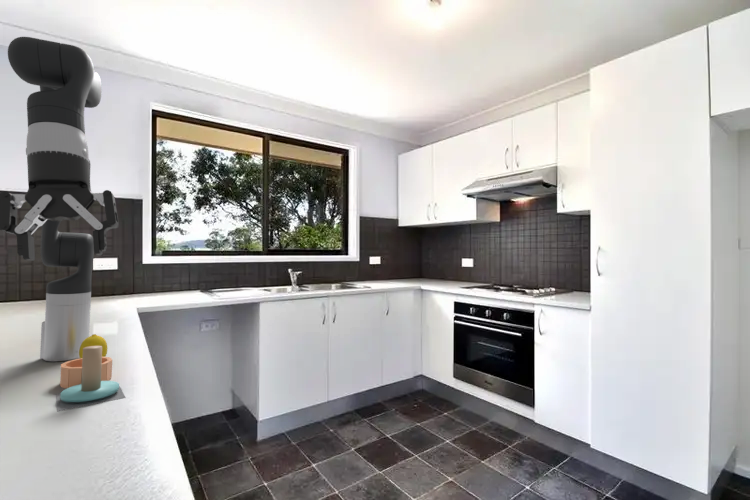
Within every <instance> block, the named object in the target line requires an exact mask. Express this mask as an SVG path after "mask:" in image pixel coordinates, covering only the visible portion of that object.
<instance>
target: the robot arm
mask: <svg viewBox="0 0 750 500" xmlns="http://www.w3.org/2000/svg"><path fill="white" fill-rule="evenodd" d="M7 59H8V62H9V65H10V66H11V68H12V70H13V71H14V73H15V74H16V75H17V76H18V77H19V79H21V80H22V81H24V82H25V83H27V84H30V85H33V86H39V90H38V91H35V92H33V93H30V94H29V95H28V97H27V99H26V113H27V114H26V116H27V135H26V147H25V155H26V158H27V162H26V165H27V183H28V190H27V191H26V192H25V194H23V193H10V192H9V191H2V192H0V231H3V232H5V233H6V234H9V235H15V236H16V247H17V248H16V249H17V254H18V256H19V257H22V259H23V260H24V261H28V262H31V261H35V260H36V256H35V254H36V253H35V237H34V236H33V234H34V233H35V232H36V231H37V230H38V229H39V228H40V227H41V233H40V236H41V237H40V250H39V251H40V259H41V262H42V264H43V265H44V266H46V267H49V268H50V267H51V268H77V270H76V271H75V272H74V273H72V274H70V275H68V276H66V277H62V278H58V279H55V280H52V281H49V282H48V283H47V284H46V289H45V290H46V291H45V292H46V293H45V312H44V313H45V314H44V315H45V318H44V321H43V322H41V327H40V329H41V332H40V348H39V349H40V350H39V351H40V353H39V359H42V360H43V361H44V362H63V361H65V362H67V361H71V360H75V359H79V358H80V357H79V349H80V346H81V344H82V342H83V341H84V340H85V339H86V338H88V337H90V329H91V328H90V327H91V325H90V324H91V308H92V307H91V306H92V305H91V304H92V276H93V275H92V273H93V272H92V271H93V264H94V257H95V256H102V255H103V254H104V253H103V252H106V251H107V249H108V245H107V244H108V243H107V232H108V231H110V230H112V229H118V228H119V226H120V224H119V223H120V222H119V216H118V210H117V203H116V199H115V196H114V194H113V192H112V191H110V189H109V190H108V189H106V190H104V191H103V192H95V193H93V192H92V188H91V187H92V186H91V160H90V157H89V148H88V143H87V142H88V141H87V138H86V131H85V130H86V127H85V108H89V109H90V108H91V109H93V108H96V107H98V105H99V104H100V102H101V99H102V91H103V89H102V85H103V84H102V79H101V77H100V75H99V73H98V72H97V71H95V67H94V66H95V65H94V64H93V60H92V58H91V57H90V56H89V54H88V53H87V52H86V51H85V50H83V49H82V48H81V47H79V46H76V45H73V44H67V43H63V42H61V43H60V42H58V41H57V42H56V41H51V40H47V39H46V40H45V39H42V38H41V39H40V38H36V37H32V36H19V37H16V38H14V39H12V40H11V41H10V43H9V45H8V47H7ZM95 201H97V202H98V203H99V204H100V205H101V206H103V207H104V211H105V216H106V217H105V218H106V220H103V221H99V220H98V219H97V218H96V217H95V216H94V215H93V214H92V213H90V212H89V211H88V210H89V209H90V208H91V207H92V205H94V203H95ZM24 203H27V204H28V205H30V206H31V209H30V210H29V211H28V212H27V213H26V214H25V215H24V217H23V219H22V220H21V222H19V224H18V210H19V209H21V208H22V206H23V205H24ZM81 218H83V219H84V220H85V221H86V223H88V224H89V225H90V226H91V227H92V228H93V229H94V230H92V234H91V233H81V232H67V231H66V232H65V231H64V232H61V231H59V227H60V225H61V222H62V221H64V220H66V221H77V220H79V219H81Z"/></svg>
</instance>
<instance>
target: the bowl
mask: <svg viewBox="0 0 750 500" xmlns="http://www.w3.org/2000/svg"><path fill="white" fill-rule="evenodd" d="M112 371H113V359H112V357H111V356H109V357H108V356H105V357H102V366H101V381H111V379H112V376H113V372H112ZM81 381H82V358H78V359H73V360H66V361H65V362H63V363H61V364H60V377H59V386H60V387H61V388H62V389H67V388H69V387H72V386H75V385H79V384H81Z"/></svg>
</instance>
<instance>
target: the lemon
mask: <svg viewBox="0 0 750 500" xmlns="http://www.w3.org/2000/svg"><path fill="white" fill-rule="evenodd" d="M89 346H102V357H107V354H108V343H107V341H106V340H105V338H104V337H102V336H101V335H98V334H95V333H94V334H92V335H89V337H88V338H86V339H85V340H84V341H83V342H82V344H81V346H80V349H79V357H80V358H83V348H85V347H89Z"/></svg>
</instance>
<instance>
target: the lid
mask: <svg viewBox="0 0 750 500" xmlns="http://www.w3.org/2000/svg"><path fill="white" fill-rule="evenodd" d="M101 366H102V346H89V347H85V348H83V358H82V381H81V384H79V385H75V386H72V387H69V388H64V389H63V390H62V391H61V392H60V393H61V394H60V393H59V394H60V399H61V400H62V401H65V402H83V401H90V400H96V399H100V398H103V397H107V396H109V395H112V394H114V393H116V392H117V391H118V390H119V386H120V383H119V382H118V381H116V380H115V381H114V380H109V381H101Z"/></svg>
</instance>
